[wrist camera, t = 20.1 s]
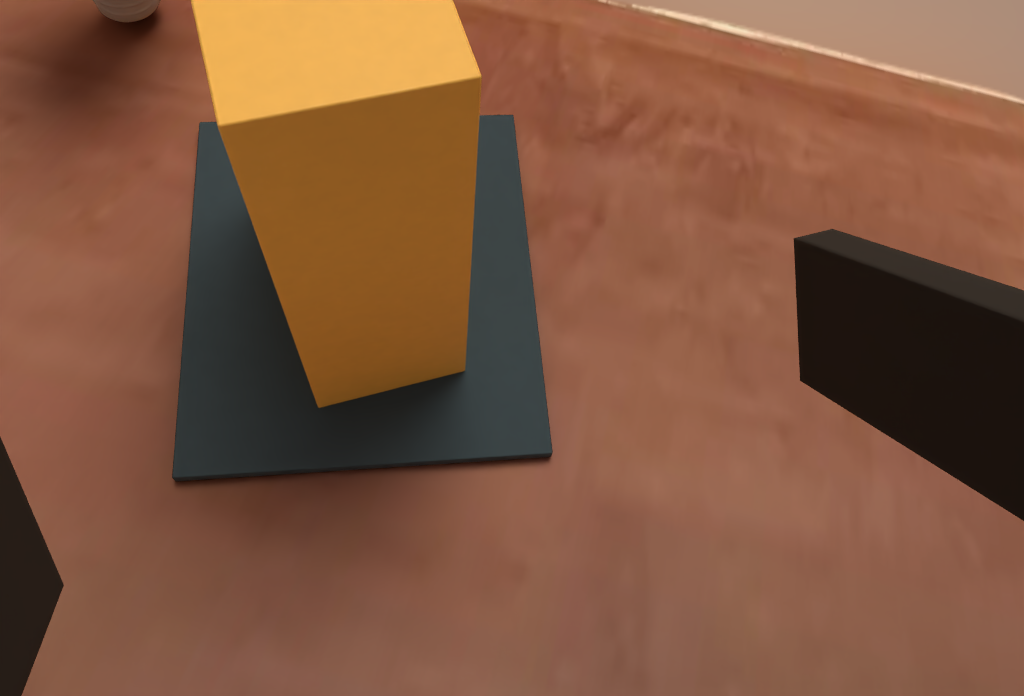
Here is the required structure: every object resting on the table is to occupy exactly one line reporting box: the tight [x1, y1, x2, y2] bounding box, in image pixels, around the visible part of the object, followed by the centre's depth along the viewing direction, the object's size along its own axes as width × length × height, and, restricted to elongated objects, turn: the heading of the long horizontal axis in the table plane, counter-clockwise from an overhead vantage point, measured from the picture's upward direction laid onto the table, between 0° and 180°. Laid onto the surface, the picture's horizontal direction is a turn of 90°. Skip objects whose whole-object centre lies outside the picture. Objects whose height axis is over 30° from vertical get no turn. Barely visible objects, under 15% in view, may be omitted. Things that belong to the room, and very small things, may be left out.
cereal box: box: [191, 0, 482, 408], centre depth 24 cm, size 5×9×14 cm, turn 17°
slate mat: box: [172, 115, 552, 481], centre depth 31 cm, size 12×14×1 cm
